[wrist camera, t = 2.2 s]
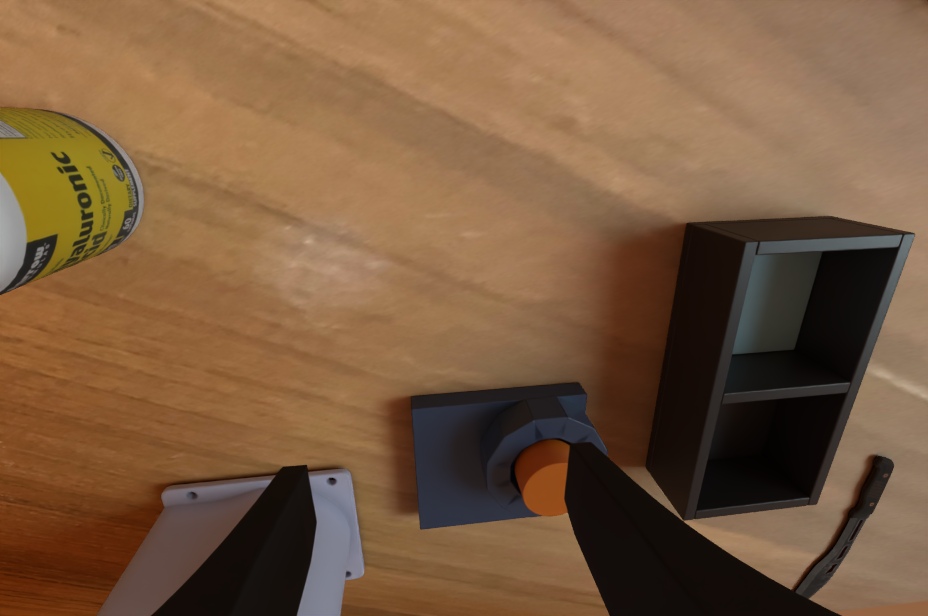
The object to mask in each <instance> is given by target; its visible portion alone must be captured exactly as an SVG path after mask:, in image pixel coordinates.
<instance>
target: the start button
mask: <svg viewBox="0 0 928 616" xmlns="http://www.w3.org/2000/svg"><path fill="white" fill-rule="evenodd" d="M569 448H570V446H569V445H568V444H567V443H565V442H563V441H560V440H556V439H546V440H541V441H537V442H535V443H533V444H531V445H530V446H528V447H526V448H525V449H524V450H523V451H522V452H521V453H520V455H519V456H518V458H517V460H516V463H515V468H514V471H515V476H516V479H517V482H518V485H519V488H520V491H521V495H522V498H523V501H524V503H525V505H526V506H527V507H528V509H530V510H531V511H532V512H534V513H536V514H538V515H542V516H557V515H562V514H564V513H567V512H568V511H567V507H566V504H565V500H564V494H565V485H566V476H567V467H568V457H569Z"/></svg>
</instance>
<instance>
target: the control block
mask: <svg viewBox="0 0 928 616" xmlns="http://www.w3.org/2000/svg"><path fill="white" fill-rule="evenodd" d="M586 400H587V393H586V392H585V391H584V389H583V388H582V386H581V385H580V383H566V384H554V385H542V386H530V387H518V388H506V389H494V390H482V391H470V392H458V393H446V394H434V395H422V396H412V397H411V410H412V424H413V438H414V451H415V465H416V478H417V492H418V506H419V519H420V529H430V528H439V527H447V526H456V525H465V524H473V523H482V522H490V521H499V520H508V519H516V518H525V517H537V516H542V515H538V514H536V513H534V512H532V511H531V510H530V509H528V507H527V506H526V505H525V503H524V501H523V498H522V495H521V491H520V488H519V485H518V482H517V479H516V476H515V471H514V468H515V463H516V460H517V458H518V456H519V455H520V453H521V452H522V451H523V450H524V449H525V448H526V447H528V446H530V445H531V444H533V443H535V442H537V441H541V440H546V439H556V440H560V441H563V442H565V443H567V444H568V445H569V446H570V443H583V442H592V443H593V444H594V445H595V446H596V447H597V448H598V449H599V450H600V451H602V452H603V453H604V454H605V455H606V456H607V453H608V451H607V448H606V446H605V445H604V443H603V441H602V440H601V438H600V436H599V435H598V433H597V431H596V430H595V428H594V426H593V425H592V423H591V422H590V420H589V419H588V417H587V415H586V414H585V410H586ZM567 513H568V512H567Z"/></svg>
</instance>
